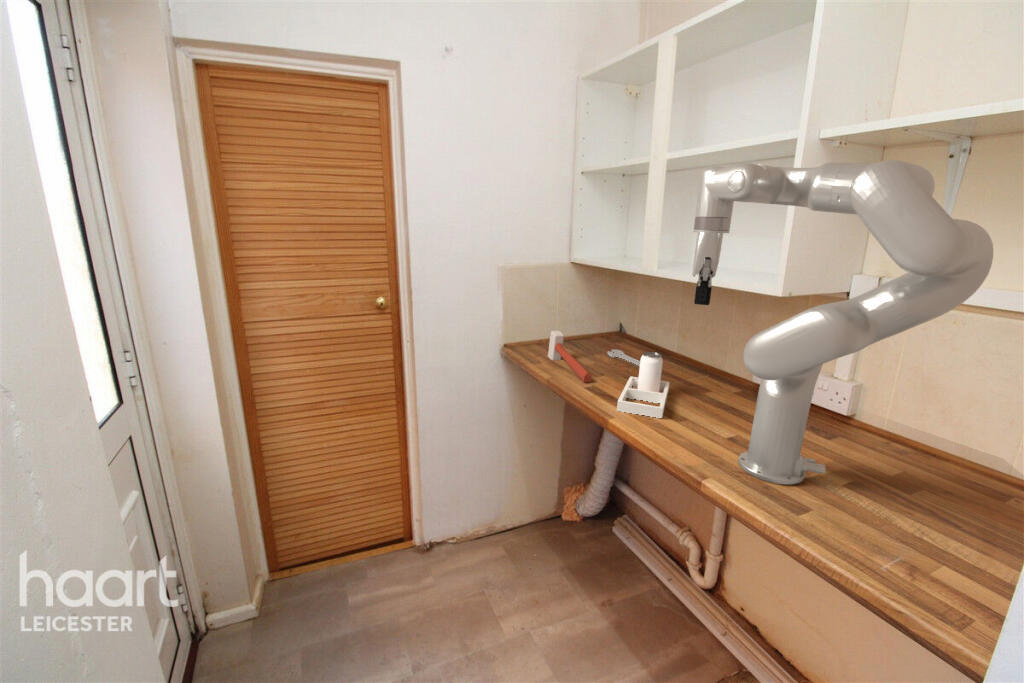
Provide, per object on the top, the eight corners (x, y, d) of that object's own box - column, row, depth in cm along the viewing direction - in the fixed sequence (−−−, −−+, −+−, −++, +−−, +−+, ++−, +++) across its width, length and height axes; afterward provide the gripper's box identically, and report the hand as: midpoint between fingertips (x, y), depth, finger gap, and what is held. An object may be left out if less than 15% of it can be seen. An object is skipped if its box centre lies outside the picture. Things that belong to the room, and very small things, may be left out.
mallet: (594, 365, 148) (559, 329, 174) (584, 366, 147) (550, 330, 173) (590, 394, 153) (556, 355, 179) (580, 395, 152) (547, 355, 178)
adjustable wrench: (658, 372, 164) (659, 368, 164) (643, 374, 162) (644, 369, 161) (617, 352, 186) (617, 348, 186) (603, 354, 184) (604, 350, 184)
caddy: (668, 391, 145) (669, 382, 144) (661, 419, 124) (663, 408, 124) (629, 385, 149) (630, 376, 149) (616, 411, 129) (617, 401, 128)
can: (634, 388, 146) (637, 351, 143) (654, 388, 147) (658, 351, 144) (641, 396, 140) (645, 357, 137) (662, 395, 141) (666, 357, 137)
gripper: (695, 225, 114) (686, 294, 118) (692, 225, 98) (683, 305, 103) (728, 226, 111) (718, 297, 116) (731, 226, 96) (720, 308, 100)
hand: (702, 301), depth 109 cm, fingers open, 9 cm apart
